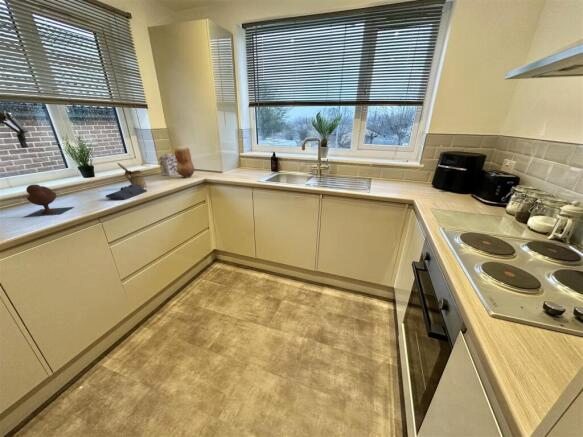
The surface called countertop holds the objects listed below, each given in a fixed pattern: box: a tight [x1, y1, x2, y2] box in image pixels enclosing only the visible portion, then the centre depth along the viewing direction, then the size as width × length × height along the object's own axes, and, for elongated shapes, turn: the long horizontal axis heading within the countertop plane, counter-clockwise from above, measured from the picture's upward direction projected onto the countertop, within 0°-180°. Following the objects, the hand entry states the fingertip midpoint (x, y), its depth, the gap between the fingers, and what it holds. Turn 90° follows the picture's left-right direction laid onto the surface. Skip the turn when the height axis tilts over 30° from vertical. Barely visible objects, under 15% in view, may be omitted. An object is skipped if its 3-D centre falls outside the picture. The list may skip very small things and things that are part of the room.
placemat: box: [22, 206, 75, 219], centre depth 124 cm, size 16×14×1 cm
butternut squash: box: [174, 145, 195, 178], centre depth 195 cm, size 14×13×25 cm
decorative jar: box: [158, 152, 179, 177], centre depth 208 cm, size 12×12×18 cm
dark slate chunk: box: [105, 183, 148, 200], centre depth 152 cm, size 15×22×5 cm
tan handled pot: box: [116, 162, 147, 189], centre depth 167 cm, size 9×14×18 cm, turn 119°
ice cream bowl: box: [25, 184, 57, 214], centre depth 121 cm, size 11×11×15 cm
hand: (9, 148), depth 122 cm, fingers open, 13 cm apart
